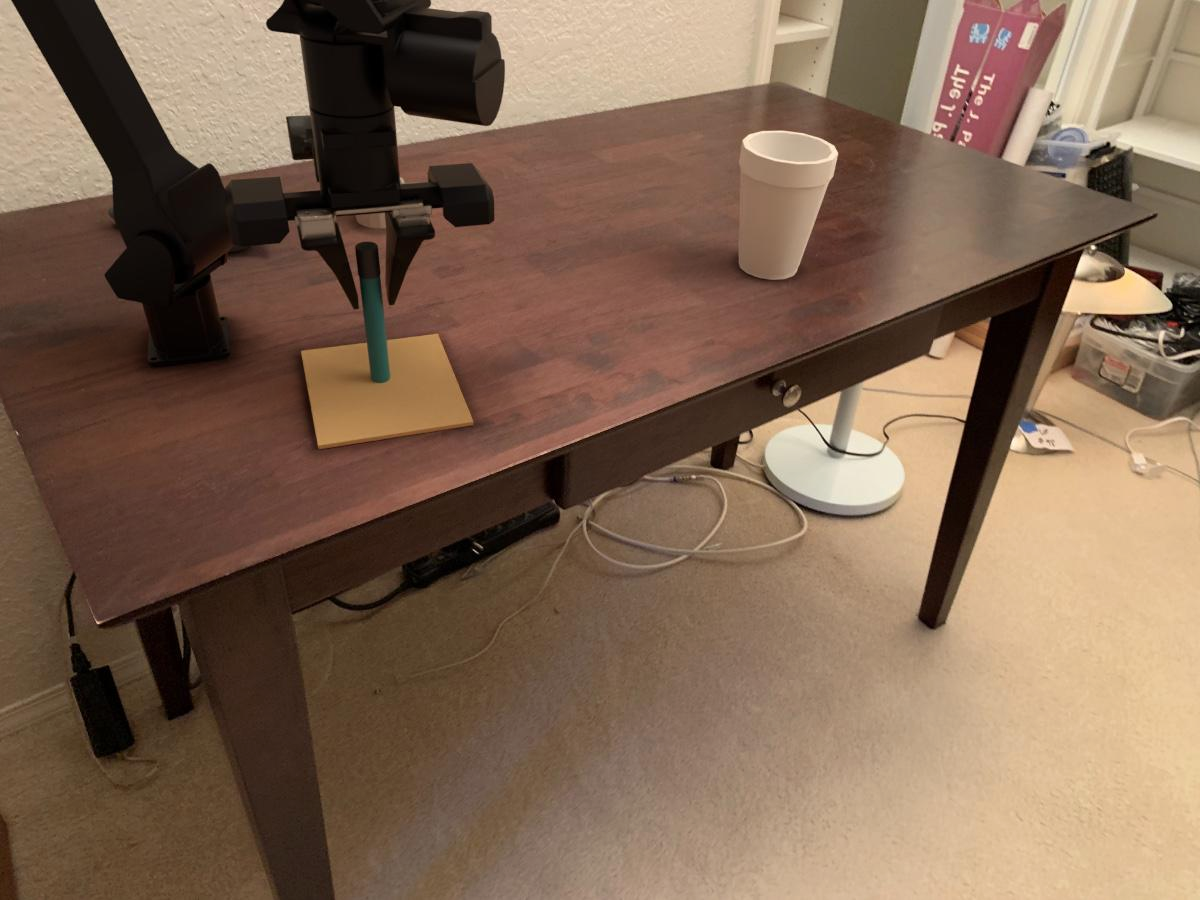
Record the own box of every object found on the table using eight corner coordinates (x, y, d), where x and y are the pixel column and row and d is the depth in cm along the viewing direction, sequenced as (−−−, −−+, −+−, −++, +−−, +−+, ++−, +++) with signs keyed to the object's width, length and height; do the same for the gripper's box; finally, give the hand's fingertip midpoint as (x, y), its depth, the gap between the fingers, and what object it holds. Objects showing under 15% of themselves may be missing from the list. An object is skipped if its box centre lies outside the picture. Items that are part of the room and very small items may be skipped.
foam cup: (741, 240, 104) (760, 124, 96) (821, 259, 101) (847, 142, 93) (712, 272, 97) (729, 151, 89) (796, 295, 94) (822, 171, 86)
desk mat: (473, 425, 73) (473, 421, 73) (318, 449, 70) (317, 445, 69) (438, 337, 83) (437, 333, 83) (301, 354, 80) (300, 350, 80)
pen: (392, 382, 77) (379, 249, 69) (372, 384, 76) (356, 251, 69) (389, 371, 78) (375, 240, 70) (368, 374, 77) (353, 242, 70)
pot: (411, 229, 101) (408, 190, 98) (360, 233, 99) (356, 194, 97) (402, 209, 105) (399, 171, 102) (353, 213, 103) (349, 174, 101)
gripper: (459, 66, 72) (466, 249, 81) (205, 76, 66) (244, 271, 76) (494, 112, 64) (497, 310, 73) (208, 127, 58) (251, 339, 68)
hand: (373, 304), depth 73 cm, fingers closed
